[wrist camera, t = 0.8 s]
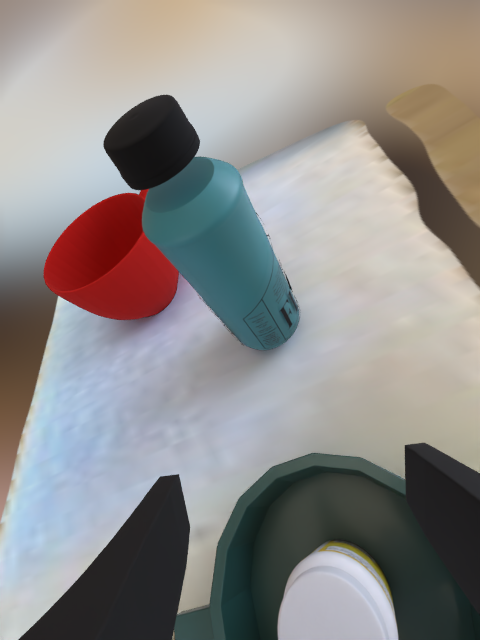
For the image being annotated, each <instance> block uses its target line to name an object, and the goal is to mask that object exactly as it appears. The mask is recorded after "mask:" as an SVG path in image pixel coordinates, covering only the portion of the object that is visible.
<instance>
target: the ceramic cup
mask: <svg viewBox="0 0 480 640" xmlns="http://www.w3.org/2000/svg"><path fill="white" fill-rule="evenodd" d="M148 190H149V189H146V190H141V192H140V194H139V195H138V194H135V193H123V194H118V195H115V196H112V197H109V198H107V199H105V200H103V201H101V202H99V203H97V204H96V205H94V206H92V207H91V208H89V209H88V210H87V211H85V212H84V213H83V214H81V215H80V216H79V217H78V218H77V219H75V220H74V221H73V223H71V224H70V225H69V226H68V227H67V229H66V230H65V231H64V232H63V233H62V235H61V236H60V237H59V238H58V240H57V241H56V243H55V244H54V246H53V247H52V249H51V251H50V253H49V255H48V257H47V260H46V263H45V267H44V279H45V283H46V285H47V286H48V288H49V289H50V290H51V291H52V292H54V293H55V294H57V295H58V296H60V297H62V298H64V299H65V300H67V301H69V302H71V303H73V304H75V305H77V306H78V307H80V308H82V309H84V310H87V311H89V312H91V313H93V314H96V315H99V316H102V317H106V318H111V319H117V320H131V319H139V318H143V317H149V316H153V315H155V314H157V313H159V312H161V311H162V310H163V309H164V308H166V307H167V306H168V304H169V303H170V302H171V301H172V299H173V298H174V295H175V293H176V290H177V283H178V275H179V271H178V270H177V269H176V268H175V267H174V266H173V264H172V263H171V262H170V261H169V260H168V259H167V258H166V257H165V255H164V254H163V253H162V252H161V251H160V250H159V249H158V248H157V247H156V245H155V244H153V243H152V242H151V241H150V240H149V239H148V238H147V237H146V236H145V234H144V232H143V228H142V213H143V208H144V202H145V198H146V195H147V192H148Z"/></svg>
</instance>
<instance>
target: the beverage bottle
mask: <svg viewBox="0 0 480 640" xmlns="http://www.w3.org/2000/svg"><path fill="white" fill-rule="evenodd" d="M199 144H200V140H199V137H198V135H197V133H196V131H195V129H194V127H193V126H192V125H191V124H190V122H189V121H188V119H187V118H186V116H185V114H184V112H183V111H182V109H181V107H180V106H179V104H178V102H177V101H176V100H175V99H174V97H172V96H170V95H160V96H156V97H153V98H151V99H148V100H146V101H144V102H142V103H140V104H139V105H137V106H135V107H134V108H132V109H131V110H129V111H128V112H127V113H125V114H124V115H123V116H122V117H121V118H120V119H119V120H118V121H117V122H116V123H115V124H114V125H113V126H112V128H111V129H110V130H109V132H108V133H107V135H106V137H105V140H104V149H105V151H106V153H107V154H108V156H109V157H110V158H111V160H112V162H113V163H114V164H115V166H116V167H117V169H118V170H119V171H120V174H121V176H122V178H123V179H124V180H125V181H126V183H127V184H128V185H129V186H130V187H131V188H132V189H135V190H146V189H149V190H148V192H147V195H146V198H145V202H144V208H143V213H142V228H143V232H144V234H145V236H146V237H147V238H148V239H149V240H150V241H151V242H152V243H153V244H155V245H156V247H157V248H158V249H159V250H160V251H161V252H162V253H163V254H164V255H165V257H166V258H167V259H168V260H169V261H170V262H171V263H172V264H173V266H174V267H175V268H176V269H177V270H178V271H179V272H180V273H181V274H182V276H183V277H184V278H185V279H186V280H187V281H188V282H189V283H190V285H191V286H192V287H193V288H194V289H195V290H196V291H197V292H198V293H199V295H200V296H201V297H202V298H203V300H204V301H205V302H206V303H205V302H204V303H205V304H206V305H207V306H209V307H210V308H211V309H212V310H213V311H214V313H215V315H216V316H217V317H218V318H220V319H221V320H222V321H223V323H224V324H225V325H226V327H227V328H228V329H229V330H231V333H233V334H234V335H235V336H236V337H237V338H238V339H239V341H240V342H241V343H243V344H244V345H246V346H248V347H250V348H253V349H257V350H268V349H273V348H276V347H278V346H280V345H282V344H283V343H285V342H286V341H287V340H288V339H289V338H290V337H291V336H292V335H293V333H294V332H295V330H296V328H297V325H298V322H299V319H300V317H299V310H298V305H297V304H296V302H295V299H294V297H293V294H292V292H293V291H292V292H291V290H292V289H291V286H290V284H289V281H288V278H287V276H286V279H287V281H288V283H287V281H286V279H285V277H284V274H283V272H282V270H283V268H282V267H280V265H279V262H278V261H277V258H276V256H275V254H274V252H273V248H272V247H271V245H270V242H269V240H268V238H267V236H268V235H269V234H268V235H266V233H265V231H264V229H263V227H262V225H261V223H260V221H259V219H258V217H257V215H258V214H257V213H256V212H255V210H254V208H253V206H252V204H251V202H250V199H249V197H248V195H247V193H246V190H245V188H244V186H243V181H242V178H241V176H240V174H239V172H238V171H237V169H236V168H235V167H234V166H232V165H231V164H229V163H227V162H224V161H221V160H217V159H212V158H207V157H194V156H195V155H196V153H197V151H198V149H199ZM256 214H257V215H256ZM263 224H264V223H263ZM269 237H270V236H269ZM271 244H272V243H271ZM279 261H280V260H279ZM280 263H281V262H280ZM281 268H282V269H281ZM284 273H285V272H284ZM285 275H286V274H285ZM288 285H289V286H288ZM290 289H291V290H290ZM198 293H197V294H198ZM294 296H295V295H294ZM296 301H297V300H296ZM297 302H298V301H297ZM212 313H213V312H212ZM215 315H214V316H215ZM225 325H224V326H225ZM227 328H226V329H227ZM229 330H228V331H229ZM236 340H237V339H236ZM241 343H240V344H241ZM244 345H243V346H244Z"/></svg>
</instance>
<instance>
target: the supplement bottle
mask: <svg viewBox="0 0 480 640" xmlns="http://www.w3.org/2000/svg"><path fill="white" fill-rule="evenodd" d="M278 640H399V639H398V630H397V623H396V618H395V611H394V605H393V599H392V594H391V590H390V586H389V583H388V581H387V578H386V576H385V574H384V572H383V570H382V568H381V567H380V565H379V564H378V562H377V561H376V560H375V559H374V557H373V556H372V555H371V554H370V553H369V552H368V551H366V550H365V549H364V548H362V547H361V546H359V545H358V544H356V543H354V542H351V541H348V540H343V539H335V540H330V541H327V542H325V543H323V544H322V545H320V546H319V547H318V548H317V549H315V550H314V551H313V552H312V553H311V554H310V555H308V556H307V557H306V558H304V559H303V560H302V561H301V562H300V563H299V564H298V565H297V566H296V567H295V568H294V570H293V571H292V573H291V574H290V576H289V578H288V581H287V584H286V588H285V592H284V597H283V600H282V603H281V606H280V610H279V616H278Z"/></svg>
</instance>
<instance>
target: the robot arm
mask: <svg viewBox="0 0 480 640" xmlns="http://www.w3.org/2000/svg"><path fill="white" fill-rule="evenodd" d="M405 479H406V501H407V503H408V505H409V507H410V509H411V511H412V512H413V514H414V516H415V518H416V520H417V522H418V524H419V525H420V527H421V529H422V531H423V533H424V534H425V536H426V538H427V539H428V541H429V542H430V544H431V545H432V547H433V548H434V550H435V551H436V553H437V554H438V556H439V557H440V559H441V560H442V561H443V563H444V564H445V566H446V567H447V569H448V570H449V572H450V573H451V575H452V576H453V578H454V579H455V581H456V582H457V583H458V585H459V586H460V588H461V589H462V591H463V592H464V594H465V595H466V597H467V598H468V599H469V601H470V602H471V604H472V605H473V607H474V608H475V610H476V611H477V613H478V614H479V616H480V473H478V472H476V471H474V470H473V469H471V468H469V467H467V466H466V465H464V464H462V463H460V462H458V461H457V460H455V459H453V458H451V457H450V456H448V455H446V454H444V453H443V452H441V451H439V450H437V449H435V448H433V447H432V446H430V445H428V444H426V443H419V444H411V445H405ZM189 533H190V524H189V520H188V515H187V510H186V506H185V501H184V496H183V492H182V487H181V482H180V478H179V474H178V475H170V476H162V477H160V478H159V479H158V480H157V481H156V483H155V484H154V485H153V486H152V488H151V489H150V490H149V492H148V493H147V494H146V496H145V497H144V498H143V500H142V501H141V502H140V504H139V505H138V506H137V508H136V509H135V510H134V512H133V513H132V514H131V516H130V517H129V518H128V519H127V521H126V522H125V523H124V525H123V526H122V527H121V528H120V530H119V531H118V532H117V534H116V535H115V536H114V537H113V539H112V540H111V541H110V542H109V543H108V545H107V546H106V547H105V548H104V549H103V551H102V552H101V553H100V554H99V555H98V557H97V558H96V559H95V560H94V561H93V562H92V564H91V565H90V566H89V567H88V568H87V570H86V571H85V572H84V573H83V574H82V575H81V576H80V577H79V579H78V580H77V581H76V582H75V583H74V584H73V585H72V586H71V587H70V588H69V589H68V591H67V592H66V593H65V594H64V595H63V596H62V597H61V598H60V599H59V600H58V601H57V602H56V603H55V604H54V605H53V606H52V607H51V608H50V609H49V610H48V611H47V612H46V613H45V614H44V615H43V616H42V617H41V618H40V619H39V620H38V621H37V622H36V623H35V624H34V625H33V626H32V627H31V628H30V629H29V630H28V631H27V632H26V633H25V634H24V635H23V636H22V637H21V638H20V639H19V640H172V636H173V631H174V626H175V621H176V616H177V611H178V606H179V601H180V596H181V591H182V585H183V580H184V575H185V570H186V564H187V555H188V545H189Z"/></svg>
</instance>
